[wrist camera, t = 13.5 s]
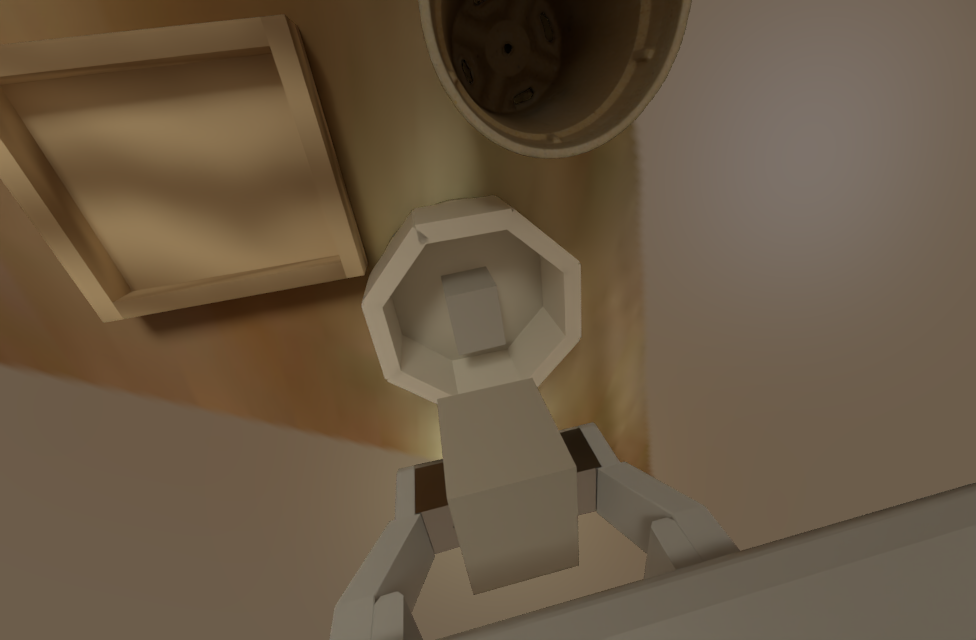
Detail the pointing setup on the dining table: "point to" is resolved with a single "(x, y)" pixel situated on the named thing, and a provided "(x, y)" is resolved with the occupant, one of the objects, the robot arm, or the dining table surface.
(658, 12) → the flower pot
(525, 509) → the block
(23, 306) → the dining table surface
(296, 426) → the dining table surface
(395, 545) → the robot arm
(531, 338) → the bowl
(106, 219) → the tray
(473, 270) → the tall grey rectangular block
